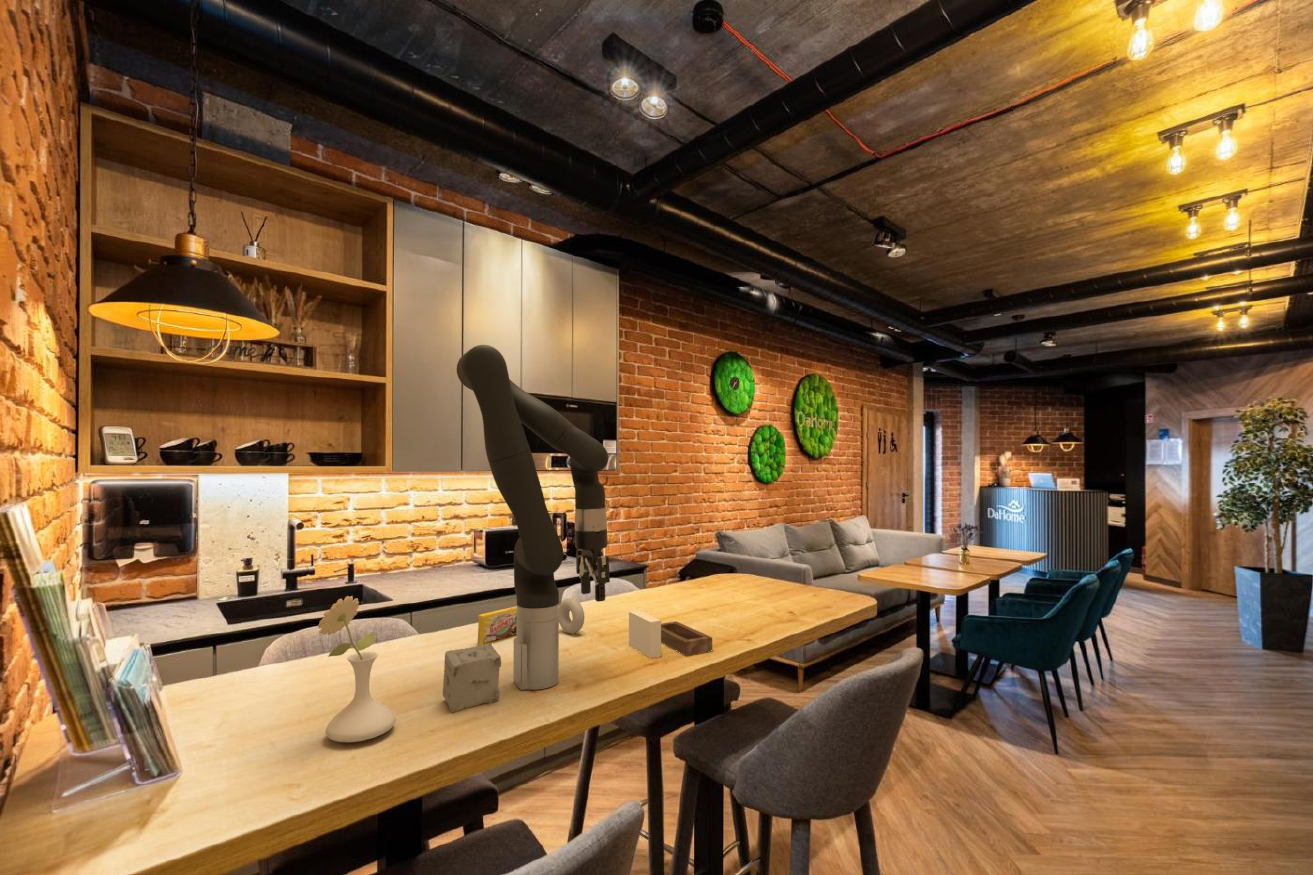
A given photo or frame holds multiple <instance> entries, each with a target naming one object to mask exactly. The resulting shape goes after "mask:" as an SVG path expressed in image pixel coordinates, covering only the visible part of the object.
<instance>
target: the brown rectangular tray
mask: <svg viewBox="0 0 1313 875" xmlns="http://www.w3.org/2000/svg"><path fill="white" fill-rule="evenodd" d="M662 643H663V644H662ZM661 644H662V645H664V644H665V645H664V646H666V645H667V646H666V647H667V648H670V649H671V648H672V650H673V649H675V650H677V651H678V652H677V651H676V652H677V653H679V652H680V653H679V654H681V653H682V654H681V655H683V654H684V655H685V656H684V655H683V656H684V657H689V656H688V655H691V656H694V655H693V654H696V655H699V654H698V653H701V654H703V653H702V652H706V651H711V650H712V651H713V637H712V636H710V635H707V634H705V633H704V632H700V631H699V630H696V629H694V628H692V627H690V626H688V625H685V624H683V623H681V622H678V621H670V622H663V623H662V622H661ZM675 650H674V651H675ZM706 653H707V652H706Z"/></svg>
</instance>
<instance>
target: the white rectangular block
mask: <svg viewBox="0 0 1313 875" xmlns="http://www.w3.org/2000/svg"><path fill="white" fill-rule="evenodd" d="M661 624H662V620H661V619H659V618H657V617H655V616H652V615H650V614H648V613H646V612H643V611H642V610H639V609H638V610H632V611H631V610H630V611H628V646H629V647H630V646H631V647H630V648H632V649H634V650H635V649H637V650H638V651H637V650H636V651H637V652H639V651H640V652H641V654H642V653H643V654H642V655H644V656H645V655H646V656H645V657H647V658H649V659H650V658H651V659H655V657H657V658H661V657H662V643H661ZM640 652H639V653H640ZM660 656H661V657H660Z"/></svg>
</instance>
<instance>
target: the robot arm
mask: <svg viewBox="0 0 1313 875" xmlns="http://www.w3.org/2000/svg"><path fill="white" fill-rule="evenodd" d="M456 375H457V377H458V380H459V382H460V383H461V384H462V385H463V386H465V388H468V389H469V390H471V391H473V394H474V396H475V398H476V401H477V404H478V406H479V410H480V413H481V417H482V423H483V424H482V426H483V439H484V447H485V453H486V458H487V461H488V464H489V467H490V471H491V474H492V477H493V480H494V483H495V485H496V487H497V489H498V491H499V493H500V495H501V496H502V498H503V500H504V502H505V504H506V505H507V507H508V508H509V510H510V512H511V514H512V516H513V518H514V521H515V523H516V527H517V531H518V535H519V538H518V539H517V541H516V543H515V545H514V552H513V585H514V592H515V596H516V606H517V637H513V665H512V666H513V668H512V669H513V672H512V675H513V683H514V684H515V685H516V687H517V688H518V689H519V690H520V691H524V690H535V691H536V690H537V691H538V690H543V689H544V690H545V689H547V688H551V687H554V686H556V685H557V684H559V677H560V676H559V675H560V674H559V673H560V669H559V666H560V665H559V662H560V661H559V660H560V655H559V653H560V650H559V649H560V647H559V646H560V632H559V631H560V624H559V606H560V593H559V592H560V591H559V589H558V586H557V585H556V584H557V583H556V580H555V573H556V572H557V571H558V570H559V568H560V567H561V565H562V562H563V559H564V548H563V544H562V540H561V539H560V536H559V534H558V532H557V530H556V528H555V524H554V523H553V520H552V518H551V515H550V513H549V510H548V508H547V504H546V501H545V496H544V492H543V488H542V485H541V482H540V477H539V475H538V472H537V467H536V463H535V460H534V458H533V454H532V451H531V450H532V449H531V447H530V445H529V441H528V440H527V436H526V433H525V430H524V427H523V425H524V426H525V427H526V428H528V429H529V430H531V431H532V432H533V433H534V434H535V435H536V436H537V437H539V438H540V439H541V440H543V441H544V442H545V443H546V444H548V445H549V446H550V447H551V448H553V449H555V450H556V451H558V452H562V453H564V454H566V455H567V456H568V457H569V468H570V474H571V478H572V483H573V486H574V502H575V503H574V505H575V506H574V507H575V508H574V509H575V511H574V543H575V546H574V547H575V549H576V552H575V562H576V563H575V565H576V566H575V567H576V568H575V570H576V574H577V575H578V577H579V579H580V593H581V594H582V595H588V594H591V590H592V587H591V586H592V585H591V577H592V579H593V581H594V597H595V599H594V600H595V602H599V603H601V602H604V601H605V600H606V584H608V583H610V581H611V576H610V560H609V559H610V558H609V556H608V555H603V552H602V550H603V549H606V548H607V547H608V545H609V543H608V519H607V517H608V516H607V511H606V491H605V490H606V489H605V487H604V485H603V484H602V483H601V482H600V478H599V472H601V471H602V470H604V469H605V468H606V467H607V465H608V463H609V454H608V451H607V449H606V447H605V446H604V445H603V444H602V443H601V442H599V441H598V440H597V439H596V438H594V437H592V436H591V435H589V434H588V433H586V432H585V431H583V430H581V429H580V428H577V427H576V426H575V425H574V424H573V423H572V422H570V421H569V420H568V419H567V418H566V417H564V416H563V414H560V412H558V411H557V410H556V409H554V408H553V407H552V406H551V405H550V404H547V403H545V402H544V401H542V400H541V399H538V398H537V397H535V396H533V395H532V394H530V393H528V392H527V391H525V390H524V389H522V388H521V387H520V386H518V385H517V384H516V383H515V382H513V380H511V379H510V376H509V375H510V374H509V370H508V365H507V362H506V360H505V358H504V356H503V354H502V353H501V352H500V351H499V350H498V349H496V348H495V347H494V346H491V345H490V344H489V345H488V344H478V345H476V346H474V347H473V346H472V348H470V349H469V350H468V351H466V352H465V353H463V355H461V357H460V358H459V359H458V362H457V364H456Z"/></svg>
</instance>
